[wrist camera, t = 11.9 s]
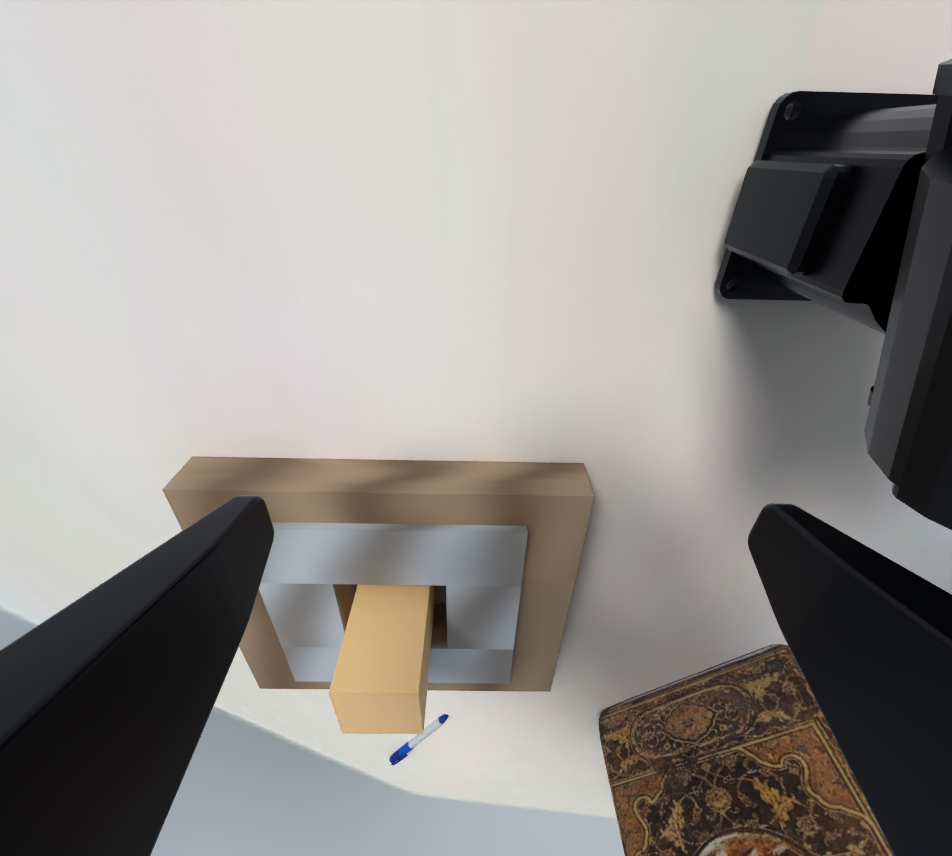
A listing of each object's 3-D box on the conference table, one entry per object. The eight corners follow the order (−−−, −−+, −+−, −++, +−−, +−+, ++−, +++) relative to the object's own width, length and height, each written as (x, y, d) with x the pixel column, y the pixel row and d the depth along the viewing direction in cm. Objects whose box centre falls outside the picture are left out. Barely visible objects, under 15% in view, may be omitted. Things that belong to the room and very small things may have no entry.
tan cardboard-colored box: (433, 552, 26) (418, 693, 19) (435, 594, 28) (423, 733, 22) (366, 551, 26) (328, 692, 19) (373, 593, 28) (342, 733, 22)
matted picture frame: (583, 463, 22) (596, 503, 20) (545, 655, 32) (551, 699, 30) (192, 456, 22) (155, 496, 20) (274, 652, 32) (256, 696, 29)
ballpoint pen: (397, 756, 42) (396, 768, 42) (389, 754, 42) (387, 767, 41) (449, 711, 38) (449, 724, 37) (440, 709, 37) (439, 722, 36)
